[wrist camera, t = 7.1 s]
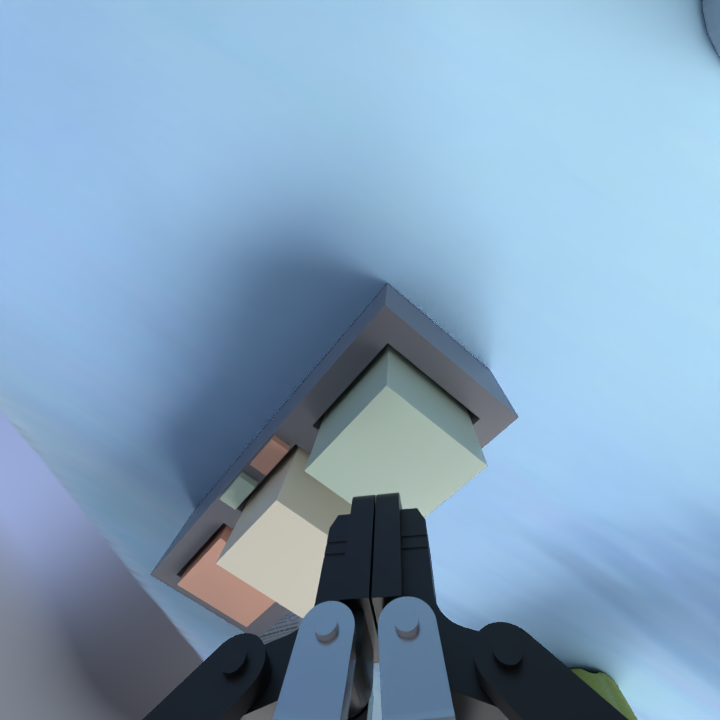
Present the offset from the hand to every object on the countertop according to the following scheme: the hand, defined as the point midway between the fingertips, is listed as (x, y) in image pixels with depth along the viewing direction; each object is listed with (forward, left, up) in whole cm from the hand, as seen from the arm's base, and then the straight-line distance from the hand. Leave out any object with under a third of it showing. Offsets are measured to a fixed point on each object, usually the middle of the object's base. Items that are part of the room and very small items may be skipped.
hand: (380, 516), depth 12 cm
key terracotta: (+10, +9, -10) cm, 17 cm away
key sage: (0, 0, -8) cm, 8 cm away
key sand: (+5, +5, -8) cm, 10 cm away
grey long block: (+5, +5, -12) cm, 13 cm away
